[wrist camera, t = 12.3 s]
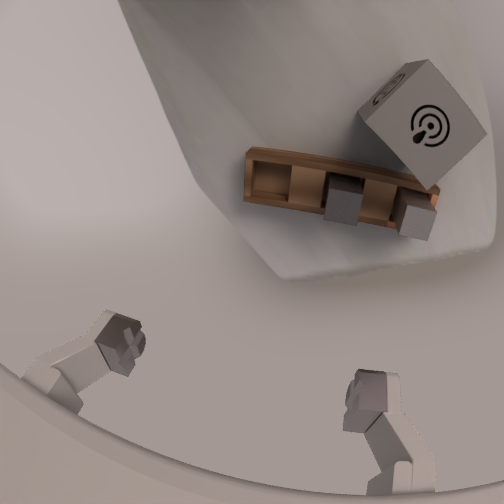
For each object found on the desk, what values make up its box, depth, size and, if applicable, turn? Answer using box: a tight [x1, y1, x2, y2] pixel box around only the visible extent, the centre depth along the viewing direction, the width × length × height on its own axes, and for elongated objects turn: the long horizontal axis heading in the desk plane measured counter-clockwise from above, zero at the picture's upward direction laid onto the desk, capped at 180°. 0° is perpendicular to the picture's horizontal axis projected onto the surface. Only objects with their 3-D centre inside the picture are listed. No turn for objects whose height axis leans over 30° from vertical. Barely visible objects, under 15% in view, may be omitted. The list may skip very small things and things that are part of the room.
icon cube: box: [357, 59, 487, 190], centre depth 29 cm, size 10×10×10 cm
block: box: [324, 172, 363, 226], centre depth 37 cm, size 4×4×7 cm
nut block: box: [391, 186, 437, 241], centre depth 35 cm, size 4×4×7 cm
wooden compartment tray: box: [244, 147, 440, 229], centre depth 39 cm, size 7×26×4 cm, turn 87°
